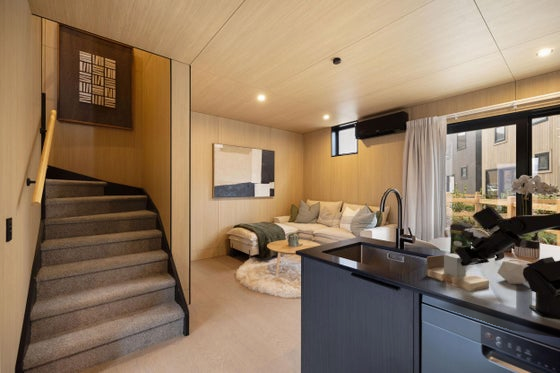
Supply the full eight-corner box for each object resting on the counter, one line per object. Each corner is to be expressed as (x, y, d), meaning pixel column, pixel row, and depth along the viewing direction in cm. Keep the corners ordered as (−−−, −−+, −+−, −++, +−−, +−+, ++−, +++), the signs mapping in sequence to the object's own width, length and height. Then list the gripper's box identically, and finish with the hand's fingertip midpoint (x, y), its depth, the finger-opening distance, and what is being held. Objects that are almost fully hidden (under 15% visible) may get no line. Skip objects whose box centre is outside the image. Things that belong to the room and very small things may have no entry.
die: (532, 290, 90) (538, 266, 93) (507, 277, 92) (514, 254, 95) (512, 290, 98) (518, 267, 101) (489, 277, 99) (496, 256, 102)
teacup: (504, 273, 106) (504, 260, 106) (509, 270, 110) (509, 257, 110) (537, 281, 98) (538, 267, 98) (542, 277, 102) (542, 263, 102)
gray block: (465, 275, 96) (466, 256, 96) (456, 276, 94) (457, 258, 94) (452, 271, 101) (452, 253, 101) (443, 272, 99) (444, 254, 99)
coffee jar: (455, 256, 131) (456, 220, 131) (474, 260, 124) (474, 222, 124) (446, 259, 125) (447, 222, 125) (465, 263, 119) (466, 224, 119)
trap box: (488, 287, 91) (489, 266, 91) (469, 291, 88) (469, 269, 88) (444, 272, 107) (444, 254, 107) (426, 275, 103) (426, 256, 103)
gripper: (495, 221, 93) (463, 244, 104) (461, 223, 87) (430, 247, 97) (521, 247, 86) (484, 269, 96) (486, 252, 79) (450, 275, 90)
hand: (462, 264), depth 95 cm, fingers closed, pressing on gray block
